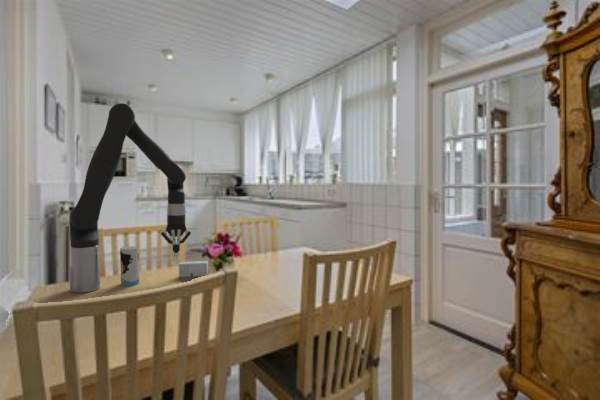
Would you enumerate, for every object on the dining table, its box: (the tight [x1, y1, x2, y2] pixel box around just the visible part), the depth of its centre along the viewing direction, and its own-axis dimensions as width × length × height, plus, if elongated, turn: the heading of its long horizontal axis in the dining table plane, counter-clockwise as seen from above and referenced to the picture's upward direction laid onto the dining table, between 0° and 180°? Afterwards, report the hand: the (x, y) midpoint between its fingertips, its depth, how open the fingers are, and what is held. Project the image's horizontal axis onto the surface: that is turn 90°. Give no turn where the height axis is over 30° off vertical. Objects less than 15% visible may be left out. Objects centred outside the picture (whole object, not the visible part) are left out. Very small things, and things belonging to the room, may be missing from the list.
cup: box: [119, 245, 140, 287], centre depth 137 cm, size 7×7×15 cm
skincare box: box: [178, 260, 209, 278], centre depth 148 cm, size 6×4×12 cm
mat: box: [180, 276, 201, 282], centre depth 150 cm, size 12×16×1 cm
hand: (176, 252), depth 147 cm, fingers closed
